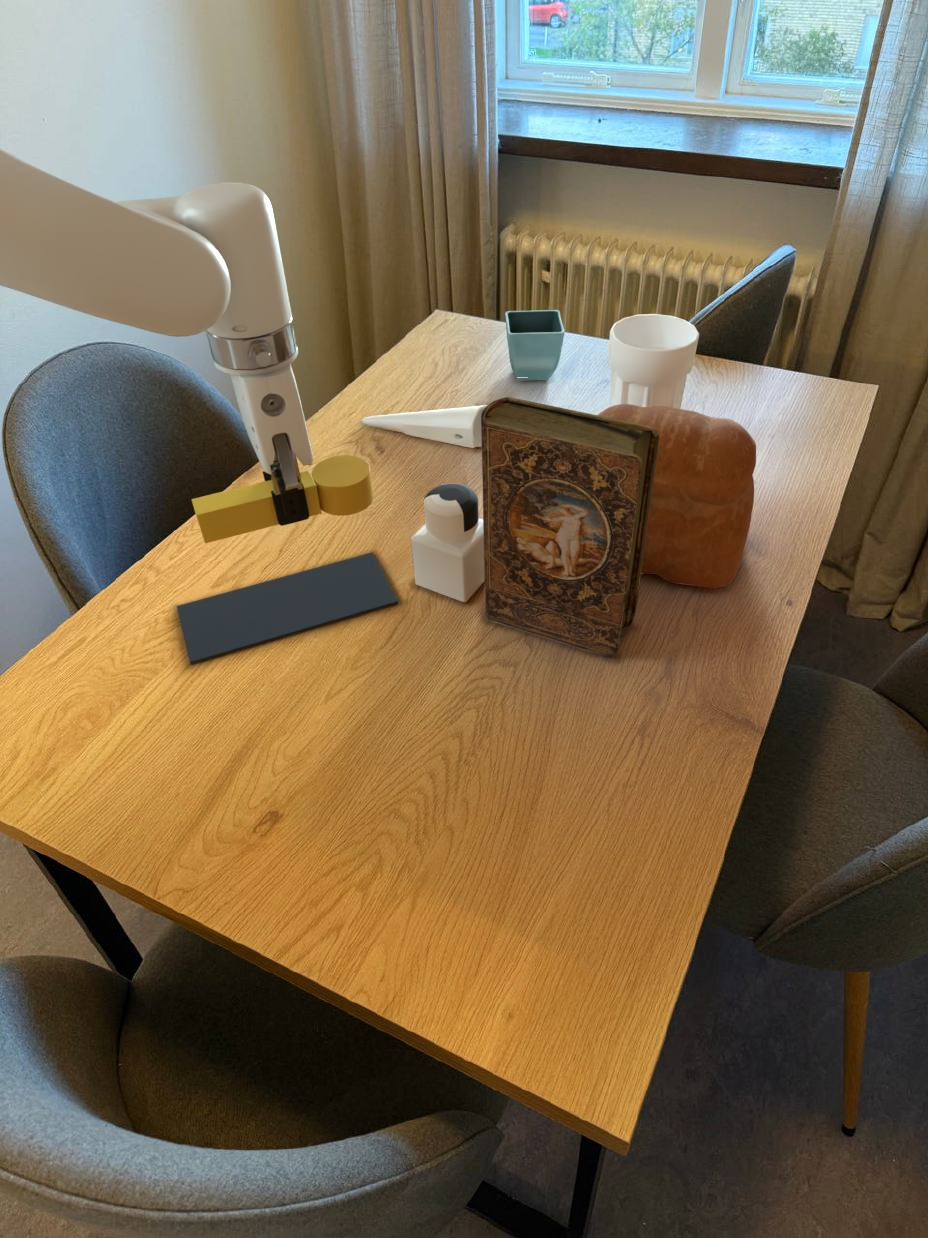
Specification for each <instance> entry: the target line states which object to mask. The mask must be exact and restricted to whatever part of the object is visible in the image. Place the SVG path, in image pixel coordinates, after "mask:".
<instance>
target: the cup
mask: <svg viewBox="0 0 928 1238" xmlns="http://www.w3.org/2000/svg"><path fill="white" fill-rule="evenodd" d="M699 338H700V333H699V331H698V330H697V327H696V326H695V325H694V324H692V323H690V322H689V321H687V320H686V319H683V318H680V317H677V316H673V315H668V314H667V315H666V314H659V313H646V314H645V313H644V314H635V315H630V316H627V317H623V318H621V319H620V320H618V321H616V322H615V323H614V324H613V325H612V326H611V328H610V330H609V338H608V339H609V341H608V359H607V361H608V365H609V367H610V369H611V379H610V381H611V382H610V397H609V398H610V399H609V407H612V406H615V405H620V404H630V405H635V406H639V407H654V406H656V407H671V408H677V409H682V408H681V407H682V403H683V397H684V393H685V392H684V391H685V387H686V382H687V377H688V375H689V374H690V373H691V371H692V369H693V366H694V362H695V358H696V353H697V347H698V344H699Z"/></svg>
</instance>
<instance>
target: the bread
mask: <svg viewBox="0 0 928 1238" xmlns="http://www.w3.org/2000/svg"><path fill="white" fill-rule="evenodd" d="M597 415H598V416H603V417H608V418H613V419H617V420H622V421H627V422H632V423H637V424H642V425H647V426H652V427H655V428H656V429H657V430H658V432H659V445H658V453H657V460H656V468H655V475H654V482H653V490H652V497H651V504H650V511H649V519H648V526H647V533H646V541H645V548H644V555H643V563H642V570H641V575H657V576H658V577H660V578H662V579H664V580H665V581H667V582H669V583H670V584H671V583H672V584H679V585H686V586H693V587H702V588H709V589H716V588H721V587H725V586H729V585H730V584H731V583H732V582H733V581H734V579H735V577H736V574H737V572H738V569H739V567H740V564H741V561H742V559H743V555H744V552H745V547H746V543H747V539H748V535H749V530H750V527H751V522H752V516H753V510H754V509H753V508H754V502H755V501H754V500H755V480H754V476H753V475H754V472H755V469H756V466H757V464H756V463H757V444H756V441H755V440H754V438H753V436H752V435H751V433H749V432H748V430H747V429H746V428H744V427H743V426H742V424H740V423H738V422H736V421H735V420H733V419H730V418H723V417H713V416H709V415H706V414H704V413H700V412H697V411H695V410H689V409H683V408H680V409H677V408H671V407H656V406H654V407H639V406H635V405H630V404H620V405H615V406H612V407H610V406H608V407H607V408H605V409H604V410H602V411H600V412H599V413H598V414H597Z"/></svg>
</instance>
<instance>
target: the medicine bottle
mask: <svg viewBox="0 0 928 1238" xmlns="http://www.w3.org/2000/svg"><path fill="white" fill-rule="evenodd" d="M423 510H424V522H425V523H424V524H423V525H422V526H421V527H420V528H419V529H418V530H417V531H416V532H415V533H414V534H413V535H412V536H411V538H410V545H411V556H412V565H413V576H414V583H415V585H416V586H418V587H421V588H424V589H427V590H428V591H432V592H435V593H437V594H440V595H442V596H444V597H447V598H450V599H453V600H456V601H459V602H462V603H466V602H468V601H469V600H470V598H472V596H473V595H474V594H475V593H476V592H477V591H478V590H479V588H480V587H481V586H482V585H483V583H485V575H484V529H483V518H480V516H479V514H480V513H479V496H478V494H477V493H476V491H474V489H472V488H471V487H469V486H467V485H465V484H462V483H454V482H453V483H452V482H451V483H443V484H439V485H437V486H434V487H433V488H432V489H430V490H429V491H428V492H427V493H426V494H425V496H424V497H423Z"/></svg>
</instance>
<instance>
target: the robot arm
mask: <svg viewBox="0 0 928 1238" xmlns="http://www.w3.org/2000/svg"><path fill="white" fill-rule="evenodd" d="M271 203H272V202H271V201H270V199H269V197H268V196H267V194H266V193H265V192H264V191H263V189H261V188H259V187H258V186H255V185H253V184H250V183H245V182H234V181H233V182H232V181H231V182H230V181H227V182H218V183H217V182H215V183H210V184H206V185H202V186H199V187H196V188H193V189H192V190H189V191H188V192H186V193H185V194H182V195H174V196H166V197H157V198H147V199H146V198H144V199H143V198H141V199H127V200H119V201H113V200H111V199H109V198H106V197H104V196H101V195H99V194H96V193H94V192H92V191H90V190H87V189H85V188H82V187H80V186H78V185H75V184H73V183H71V182H68V181H66V180H64V179H62V178H59V177H58V176H55V175H53V174H51V173H49V172H47V171H45V170H43V169H40V168H38V167H36V166H35V165H32V164H30V163H28V162H27V161H25V160H24V159H21V158H19V157H17V156H15V155H13V154H12V153H10V152H8V151H7V150H5V149H3V148H1V147H0V286H1V287H4V288H8V289H10V290H14V291H16V292H20V293H23V294H25V295H29V296H32V297H34V298H38V299H41V300H44V301H46V302H50V303H53V304H55V305H59V306H61V307H63V308H67V309H70V310H73V311H76V312H79V313H83V314H86V315H89V316H93V317H96V318H100V319H103V320H106V321H110V322H113V323H116V324H121V325H125V326H129V327H131V328H136V329H139V330H143V331H147V332H151V333H155V334H158V335H163V336H167V337H174V338H175V337H176V338H178V337H179V338H180V337H191V336H195V335H199V334H201V333H203V332H205V335H206V338H207V342H208V345H209V349H210V350H209V351H210V354H211V356H212V362H213V364H214V367H215V368H216V369H217V370H218V371H220V372H222V373H225V374H227V375H230V378H231V379H230V380H231V383H232V386H233V390H234V394H235V399H236V402H237V406H238V409H239V412H240V415H241V418H242V422H243V425H244V428H245V430H246V433H247V436H248V439H249V441H250V443H251V447H252V448H253V450H254V453H255V455H256V458H257V460H258V461H259V464H260V466H261V468H262V470H263V471H262V475H263V479H264V481H269V480H271V482H272V486H273V491H271V494H272V499H273V503H274V507H275V512H276V516H277V520H278V523H279V526H281V527H282V526H288V525H291V524H294V523H295V524H296V523H300V522H303V521H306V520H309V518H310V517H311V516H310V515H309V510H308V505H307V500H306V495H305V490H304V485H303V483H302V481H301V477H300V473H301V471H300V467H299V463H298V461H299V462H300V464H301V465H302V466H303V467H306V466H312V465H313V463H314V461H315V459H314V458H315V457H314V454H313V449H312V445H311V440H310V436H309V431H308V428H307V423H306V418H305V413H304V409H303V405H302V400H301V396H300V392H299V388H298V384H297V381H296V377H295V373H294V371H293V368H292V367H293V366H292V363H293V362H294V361H295V360H296V359H297V357H298V355H299V348H298V342H297V338H296V337H297V336H296V332H295V331H296V330H295V327H294V326H295V325H294V320H293V316H292V315H293V314H292V309H291V303H290V298H289V291H288V286H287V280H286V275H285V270H284V264H283V260H282V254H281V249H280V248H281V247H280V242H279V238H278V237H279V236H278V231H277V225H276V221H275V215H274V211H273V206H272V204H271ZM277 478H278V479H277Z"/></svg>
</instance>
